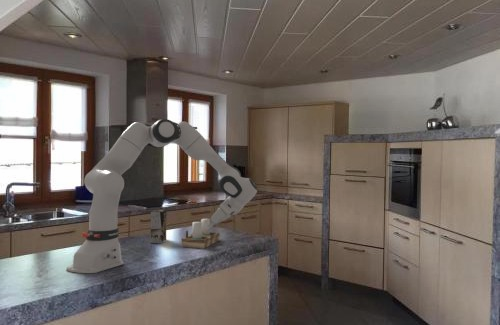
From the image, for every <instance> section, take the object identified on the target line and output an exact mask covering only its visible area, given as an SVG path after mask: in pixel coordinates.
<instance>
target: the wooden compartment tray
mask: <svg viewBox="0 0 500 325" xmlns="http://www.w3.org/2000/svg"><path fill="white" fill-rule="evenodd" d="M220 234H221V233H220V232H215V231H214V232H213V231H210V235H202V240H200V239H192V233H191V234H189V231H188V230H186V231H185V237H182V238H181V248H182V247H183V248H192V249H193V248H194V249H202V250H203V249H205V248H208V247H210V246H211V245H213V244H215V243H217V242H219V241H220Z"/></svg>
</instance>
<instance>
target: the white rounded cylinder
mask: <svg viewBox="0 0 500 325" xmlns="http://www.w3.org/2000/svg"><path fill="white" fill-rule="evenodd" d="M191 227H192V229H191V234H192V239H200V240H202V222H201V221H192V226H191Z"/></svg>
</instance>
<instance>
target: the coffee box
mask: <svg viewBox="0 0 500 325" xmlns="http://www.w3.org/2000/svg"><path fill="white" fill-rule="evenodd" d="M166 240H167V209H154V210H152V211H150V243H151V244H163V243H164V242H165V241H166Z"/></svg>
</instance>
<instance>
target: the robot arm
mask: <svg viewBox="0 0 500 325" xmlns="http://www.w3.org/2000/svg"><path fill="white" fill-rule="evenodd" d="M170 143H174V144H176V145H178V146H179V147H180V149H181V150H182V151H184V153H185V154H186V155H187V156H188V157H189V158H191V159H193V161H204V162H207V163H208V164H209V165H210V166H211V167H212V168H213V169H215V170H216V172H218V174H219V176H220V179H219V182H218V186H219V189H220V191H221V192H222V193H224V194H225V195H227V196H228V197H227V198H226V199H225V200H223V202H221V203H220V204H219V207H218V208H217V210H216V211H214V213H213V214H212V215H211V217H210V218H209V219H210V224H209V225H208V226H209V227H210V229H211V228H213V227H214V225H220V224H221V223H222V222H224V221H225V220H228V219H229V218H231V217H232V216H233V215H234V216H237V214H239V213H240V212H241V211H242V209H243V208H244V207H245V205H246V204H249V202H250V201H251V200H252V199H253V198H254V197H255V196H256V194H257V193H258V186H257V184H256V183H255V181H254V179H252V178H250V177H242V174H241V171H240V170H239V168H237V167H235V166H233V165H231V164H229V163H228V162H227V161H226V160H225V159H223V157H222V156H221V155H220V154H218V152H216V150H215V149H213V147H212V146H211V145H210V144H209V142H208V141H207V140H206V138H205V137H204V136H203V135H202V134H201V133H200V131H198V130H197V129H196V128H195V127H194V126H192V125H191V124H190V123H189V122H187V121H179V122H174V121H172V120H170V119H169V118H168V119H166V118H162V119H158V120H157V121H156V122H154V123H153V124H151V126H148V125H146V124H144V123H142V122H137V121H136V122H132V123H131V124H130V125H129V126H128V127H127V128H126V129H125V130H124V131H123V132H122V134H121V135H120V136H119V137H118V139H117V140H116V141H115V143H114V144H113V145H112V147H111V148H110V150H109V151H108V152H107V153H106V154H105V156H104V157H102V159H100V160H99V161H98V163H97V164H96V165H95V166H93V167H92V169H91V170H90V171H89V172H88V173H86V175H85V176H84V181H83V183H84V186H85V188H86V189H87V191H89V192H90V193H91V194H92V201H91V206H90V208H89V210H88V212H89V213H88V215H89V218H88V224H89V226H88V229H87V232H84V231H82V233H81V237H82V238H85V241H84V242H83V243H82V245H81V246H80V247H79V248H78V249H77V250H76V252H74V255H73V260H72V262H73V263H72V264H71V265H69V266H67V267H66V271H68V272H70V273H77V274H96V273H100V272H103V271H105V270H106V271H107V270H109V269H112V268H116V267H119V266H122V265H124V261H123V260H122V251H121V250H122V249H121V244H120V242H119V238H118V237H119V233H120V232H119V227H118V210H119V204H120V199H121V196H122V195H121V194H122V191H123V190H124V188H125V179H124V177H122V175H123V174H124V173H125V172H127V170H129V169H130V168H131V167H132V166H133V165H134V163H135V162H136V160H137V159H138V157H139V156H140V155H141V153H142V152H143V150H144V148H145V147H146V146H148V147H149V146H150V147H152V148H156V149H162V148H164V147H166V146H168V145H170Z"/></svg>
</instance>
